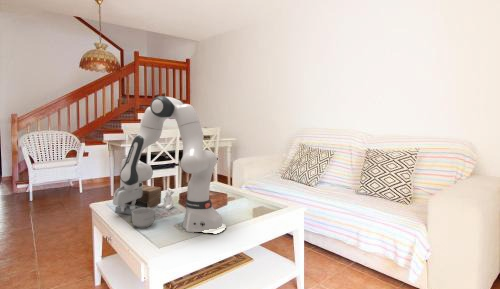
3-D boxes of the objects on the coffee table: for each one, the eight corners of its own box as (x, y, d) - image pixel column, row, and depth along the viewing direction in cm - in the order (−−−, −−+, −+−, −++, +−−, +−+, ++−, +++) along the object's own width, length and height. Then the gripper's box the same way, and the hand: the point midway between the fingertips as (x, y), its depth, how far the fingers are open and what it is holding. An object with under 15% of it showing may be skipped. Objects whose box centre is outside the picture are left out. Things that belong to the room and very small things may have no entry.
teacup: (146, 231, 137) (147, 214, 136) (126, 227, 139) (126, 211, 138) (161, 221, 150) (161, 206, 150) (142, 219, 152) (143, 204, 152)
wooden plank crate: (160, 203, 182) (161, 187, 181) (148, 208, 171) (149, 191, 170) (136, 200, 187) (137, 184, 186) (123, 204, 176) (124, 187, 175)
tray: (140, 212, 163) (140, 205, 163) (133, 215, 157) (133, 208, 157) (122, 209, 166) (123, 202, 166) (115, 212, 160) (115, 205, 160)
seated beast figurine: (156, 207, 174) (157, 188, 173) (167, 204, 181) (168, 186, 180) (166, 210, 169) (167, 190, 168) (177, 208, 176) (178, 188, 175)
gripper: (120, 189, 150) (119, 215, 151) (145, 182, 169) (144, 205, 170) (110, 188, 152) (109, 213, 152) (136, 181, 171) (135, 204, 172)
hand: (127, 209), depth 162 cm, fingers closed on tray, 6 cm apart
